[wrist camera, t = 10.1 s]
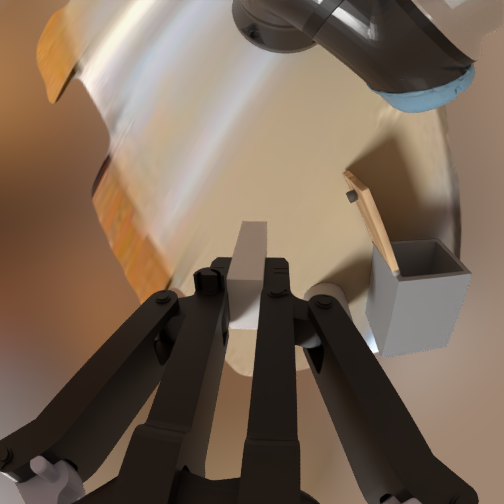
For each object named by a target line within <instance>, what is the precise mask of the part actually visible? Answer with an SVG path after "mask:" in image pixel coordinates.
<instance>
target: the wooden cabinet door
mask: <svg viewBox="0 0 504 504" xmlns="http://www.w3.org/2000/svg"><path fill="white" fill-rule="evenodd" d="M343 175H344V177H345V179H346V181H347V183H348V185H349V188H350V190H351V191H349V192H347V193H346V195H347V197H348V199H349V201H350V203H352V202H354V201H356V203H357V205H358V207H359V210H360V212H361V214H362V217H363V219H364V221H365V224H366V226H367V229H368V231H369V233H370V236H371V238H372V242H373V244H374V245H375V247H376V249H377V250H378V252H379V253H380V255H381V256H382V258H383V259H384V261H385V263H386V264H387V266H388V267H389V269H390V271H391V272H392V274H393V276H395V277H397V276H399V275H400V270H399V268H398V265H397V262H396V259H395V256H394V253H393V250H392V247H391V244H390V241H389V239H388V236H387V233H386V230H385V228H384V225H383V222H382V220H381V217H380V215H379V212H378V210H377V207H376V205H375V202H374V200H373V197H372V195H371V193H370V190H369V188H368V187H367V186H366V185H364V184H363V183H362V182H361V181H360V180H359V179H358V178H356V177H355V176H354V175H353V174H352V173H351V172H349V171H346V172H344V173H343Z"/></svg>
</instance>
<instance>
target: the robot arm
mask: <svg viewBox="0 0 504 504" xmlns="http://www.w3.org/2000/svg"><path fill="white" fill-rule="evenodd" d="M232 14H233V19H234V21H235V24H236V26H237V28H238V30H239V31H240V33H241V34H242V35H243V36H244V37H245V38H246V39H247V40H248V41H249V42H251V43H252V44H254V45H255V46H257V47H259V48H261V49H264V50H267V51H270V52H275V53H296V52H301V51H304V50H307V49H310V48H312V47H313V46H315V45H317V44H319V45H321V46H322V47H323V48H325V49H326V50H327V51H329V52H330V53H331V54H332V55H334V56H335V57H336V58H338V59H339V60H340V61H341V62H342V63H344V64H345V65H346V66H347V67H349V68H350V69H351V70H352V71H353V72H354V73H356V74H357V75H358V76H359V77H360V78H361V79H363V80H364V81H365V82H366V84H367V86H368V87H369V88H370V89H371V90H372V91H374V92H375V93H377V94H379V95H380V96H381V97H382V98H383V99H385V100H386V101H387V102H388V103H389V104H390V105H391V106H392V107H394V108H396V109H398V110H400V111H403V112H408V113H419V112H425V111H429V110H432V109H435V108H438V107H440V106H442V105H445V104H447V103H448V102H450V101H452V100H453V99H455V98H456V97H457V93H459V92H463V91H465V90H466V89H467V88H468V87H469V86H470V84H471V83H472V81H473V79H474V75H475V68H474V64H473V63H474V62H475V61H478V60H479V59H480V58H481V54H482V41H483V38H484V37H486V36H487V35H489V34H491V33H493V32H495V31H497V30H498V29H500V28H502V27H504V0H233V4H232ZM193 276H194V283H195V290H196V291H195V293H194V295H192V296H188V297H183V298H178V296H177V294H176V293H175V292H173V291H171V290H161V291H158V292H155V293H154V294H152V295H151V296H150V297H149V298H148V299H147V300H146V301H145V302H144V303H143V304H142V305H141V306H140V307H139V308H138V309H137V310H136V311H135V312H134V313H133V314H132V315H131V316H130V317H129V318H128V319H127V320H126V321H125V322H124V323H123V324H122V325H121V326H120V327H119V329H118V330H117V331H116V332H115V333H114V334H113V335H112V336H111V337H110V338H109V339H108V340H107V341H106V342H105V343H104V344H103V345H102V346H101V348H99V350H98V351H97V352H96V353H95V354H94V355H93V356H92V357H91V358H90V359H89V360H88V361H87V362H86V363H85V364H84V366H83V367H82V368H81V369H80V370H79V371H78V372H77V373H76V374H75V375H74V376H73V377H72V378H71V380H70V381H69V382H68V383H67V384H66V385H65V386H64V387H63V389H62V390H61V391H60V392H59V393H58V394H57V395H56V396H55V397H54V399H53V400H52V401H51V402H50V403H49V404H48V405H47V406H46V408H45V409H44V410H43V411H42V412H41V413H40V415H39V416H38V417H37V418H36V419H35V420H33V421H31V422H30V423H28V424H27V425H25V426H23V427H22V428H20V429H18V430H17V431H15V432H13V433H12V434H10V435H8V436H7V437H5V438H4V439H2V440H0V472H1V473H3V474H4V475H5V476H7V477H8V478H10V479H11V480H13V482H15V484H16V486H17V487H18V489H19V492H20V494H21V495H22V498H23V499H24V501H25V503H26V504H320V503H319V502H318V501H317V500H315V499H314V498H313V497H311V496H310V495H309V494H307V493H305V492H304V491H302V490H300V444H299V440H298V435H297V394H296V364H295V345H298V346H302V347H303V351H304V354H305V356H306V359H307V361H308V363H309V366H310V368H311V370H312V373H313V375H314V378H315V380H316V383H317V385H318V388H319V390H320V392H321V395H322V397H323V400H324V402H325V404H326V407H327V409H328V412H329V414H330V417H331V419H332V421H333V424H334V426H335V429H336V431H337V434H338V436H339V439H340V441H341V444H342V446H343V448H344V451H345V453H346V456H347V458H348V461H349V463H350V466H351V468H352V471H353V473H354V476H355V478H356V480H357V483H358V486H359V488H360V490H361V492H362V494H363V496H364V498H365V500H366V501H367V503H368V504H478V502H479V500H478V496H477V493H476V491H475V490H474V489H473V488H472V487H471V486H469V485H468V484H467V483H466V482H465V481H464V480H462V479H461V478H460V477H459V476H458V475H456V474H455V473H454V472H453V471H451V470H450V469H449V468H448V467H447V466H446V465H444V464H443V463H442V462H441V461H440V460H438V459H437V458H436V457H435V456H434V455H433V454H432V452H431V450H430V448H429V446H428V445H427V443H426V441H425V439H424V438H423V436H422V434H421V432H420V431H419V429H418V427H417V425H416V424H415V422H414V420H413V418H412V417H411V415H410V413H409V412H408V410H407V408H406V407H405V405H404V403H403V401H402V400H401V398H400V396H399V395H398V393H397V392H396V390H395V388H394V387H393V385H392V384H391V382H390V380H389V378H388V377H387V375H386V374H385V372H384V370H383V369H382V367H381V366H380V364H379V362H378V361H377V359H376V358H375V356H374V354H373V353H372V351H371V350H370V348H369V347H368V345H367V343H366V342H365V340H364V339H363V337H362V336H361V334H360V333H359V331H358V330H357V328H356V326H355V325H354V323H353V322H352V320H351V319H350V317H349V316H348V314H347V313H346V311H345V310H344V308H343V307H342V305H341V304H340V302H339V301H338V300H337V299H336V298H335V297H333V296H331V295H326V294H318V295H315V296H313V297H311V298H310V299H309V301H306V300H302V299H299V298H297V297H295V296H294V295H293V294H292V293H291V290H290V278H289V264H288V262H287V261H286V259H285V258H267V222H247V221H243V222H242V225H241V229H240V232H239V236H238V239H237V243H236V246H235V250H234V253H233V257H232V258H231V257H217V258H216V259H215V260H214V261H213V262H212V264H211V266H210V267H207V268H202V269H199V270H198V271H196V272H195V273H194V274H193ZM229 322H230V328H231V329H254V330H257V339H256V350H255V360H254V370H253V381H252V390H251V400H250V410H249V420H248V429H247V437H246V440H245V443H244V450H243V459H242V468H241V477H240V478H232V479H223V480H209V479H206V478H205V459H206V454H207V449H208V444H209V438H210V433H211V427H212V422H213V417H214V412H215V406H216V401H217V396H218V391H219V385H220V379H221V375H222V369H223V364H224V359H225V354H226V349H227V344H228V338H229V331H228V327H229ZM160 381H161V382H160ZM159 382H160V385H159V387H158V390H157V393H156V395H155V399H154V401H153V404H152V407H151V410H150V413H149V415H148V418H147V420H146V422H145V423H144V424H140V425H138V426H137V427H136V428H135V430H134V432H133V434H132V437H131V440H130V442H129V445H128V448H127V451H126V454H125V457H124V460H123V463H122V466H121V469H120V471H119V474H118V476H117V477H115V478H114V479H112V480H111V481H109V482H107V483H106V484H104V485H103V486H101V487H99V488H97V489H96V490H94V491H93V492H91V493H89V494H87V495H86V496H85V490H84V488H83V482H85V481H86V480H88V479H89V478H90V477H91V476H92V475H93V474H94V473H95V472H96V471H97V470H98V468H99V467H100V466H101V465H102V463H103V462H104V461H105V459H106V458H107V456H108V455H109V454H110V452H111V451H112V449H113V448H114V446H115V445H116V444H117V442H118V441H119V439H120V438H121V436H122V435H123V434H124V432H125V431H126V429H127V428H128V426H129V425H130V423H131V422H132V421H133V419H134V418H135V417H136V415H137V414H138V412H139V411H140V409H141V408H142V407H143V405H144V404H145V402H146V401H147V399H148V398H149V397H150V395H151V394H152V392H153V391H154V389H155V388H156V387H157V385H158V384H159Z"/></svg>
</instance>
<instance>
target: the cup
mask: <svg viewBox="0 0 504 504" xmlns="http://www.w3.org/2000/svg"><path fill="white" fill-rule="evenodd" d="M318 294H326V295H331V296H333V297H335V298H336V299H337V300H338V301H339V302H340V304H341V305H342V307H343V308H344V310H345V311H346V313H347V314H348V316H349V317H350V319H351V320H352V317H351V314H350V310H349V307H348V304H347V301H346V298H345V294H344V292H343V291H342V289H341V288H340V287H339V286H337V285H335V284H332V283H320V284H317V285H315V286H313V287H311V288H310V289H309V290H308V291H307V292H306V293H305V295H304V299H303V300H306V301H309V299H310V298H311V297H313V296H315V295H318ZM352 322H353V320H352Z"/></svg>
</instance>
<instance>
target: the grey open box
mask: <svg viewBox="0 0 504 504" xmlns="http://www.w3.org/2000/svg"><path fill="white" fill-rule="evenodd" d="M390 244H391V247H392V250H393V253H394V256H395V259H396V262H397V265H398V268H399V270H400V275H399V276H397V277H395V276H393V274H392V272H391V271H390V269H389V267H388V266H387V264H386V263H385V261H384V259H383V258H382V256H381V255H380V253H379V252H378V250H377V249H376V247H375V245H374V246H373V257H372V267H371V275H370V284H369V291H368V299H367V306H366V312H365V313H366V316H367V318H368V321H369V324H370V327H371V330H372V333H373V335H374V338H375V341H376V344H377V347H378V350H379V353H380V356H381V358H386V357H393V356H399V355H405V354H411V353H416V352H421V351H427V350H432V349H437V348H442V347H446V346H447V344H448V342H449V339H450V337H451V334H452V332H453V329H454V327H455V324H456V321H457V319H458V316H459V313H460V310H461V307H462V304H463V301H464V298H465V295H466V292H467V289H468V286H469V282H470V279H471V275H472V273H471V272H470V271H469V270H468V269H467V268H466V267H465V266H464V264H463V263H462V262H461V261H460V260H459V259H458V258H457V257H456V256H455V255H454V254H453V253H452V252H451V251H450V250H449V249H448V248H447V247H446V246H445V245H444V244H443V243H442V242H441V241H440V240H439V239H426V240H408V241H390Z"/></svg>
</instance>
